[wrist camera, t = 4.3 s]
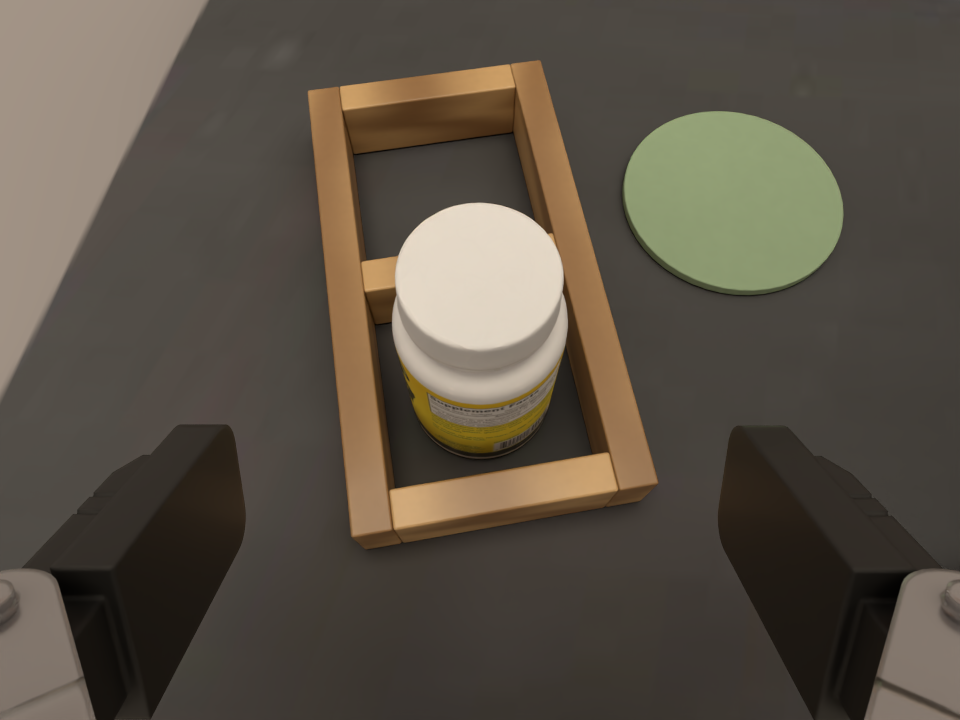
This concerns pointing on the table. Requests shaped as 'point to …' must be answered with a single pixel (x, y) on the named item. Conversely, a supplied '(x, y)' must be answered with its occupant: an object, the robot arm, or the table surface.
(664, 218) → the coaster
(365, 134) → the rack
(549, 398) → the supplement bottle
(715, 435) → the table surface
